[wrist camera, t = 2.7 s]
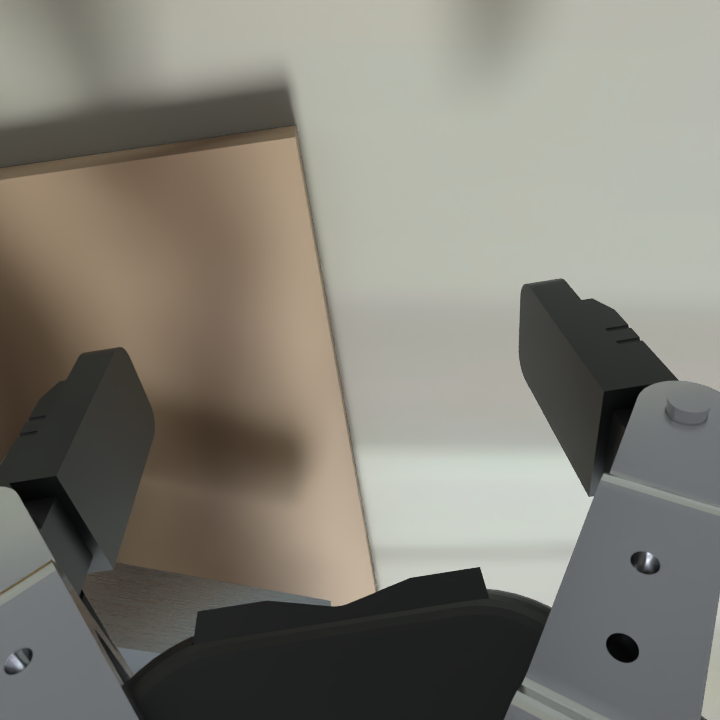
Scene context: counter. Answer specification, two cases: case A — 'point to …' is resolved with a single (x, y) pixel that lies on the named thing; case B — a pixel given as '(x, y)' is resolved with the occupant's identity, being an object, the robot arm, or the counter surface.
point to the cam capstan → (164, 606)
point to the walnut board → (195, 350)
